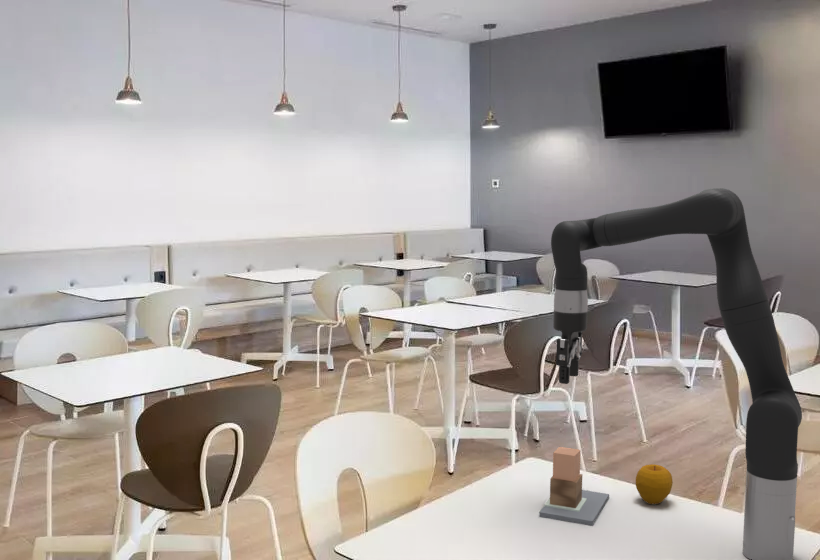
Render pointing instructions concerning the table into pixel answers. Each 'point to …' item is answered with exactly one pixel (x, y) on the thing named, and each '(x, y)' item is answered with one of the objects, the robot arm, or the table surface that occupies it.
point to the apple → (653, 483)
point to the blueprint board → (578, 509)
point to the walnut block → (566, 492)
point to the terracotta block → (566, 464)
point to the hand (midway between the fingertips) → (568, 379)
